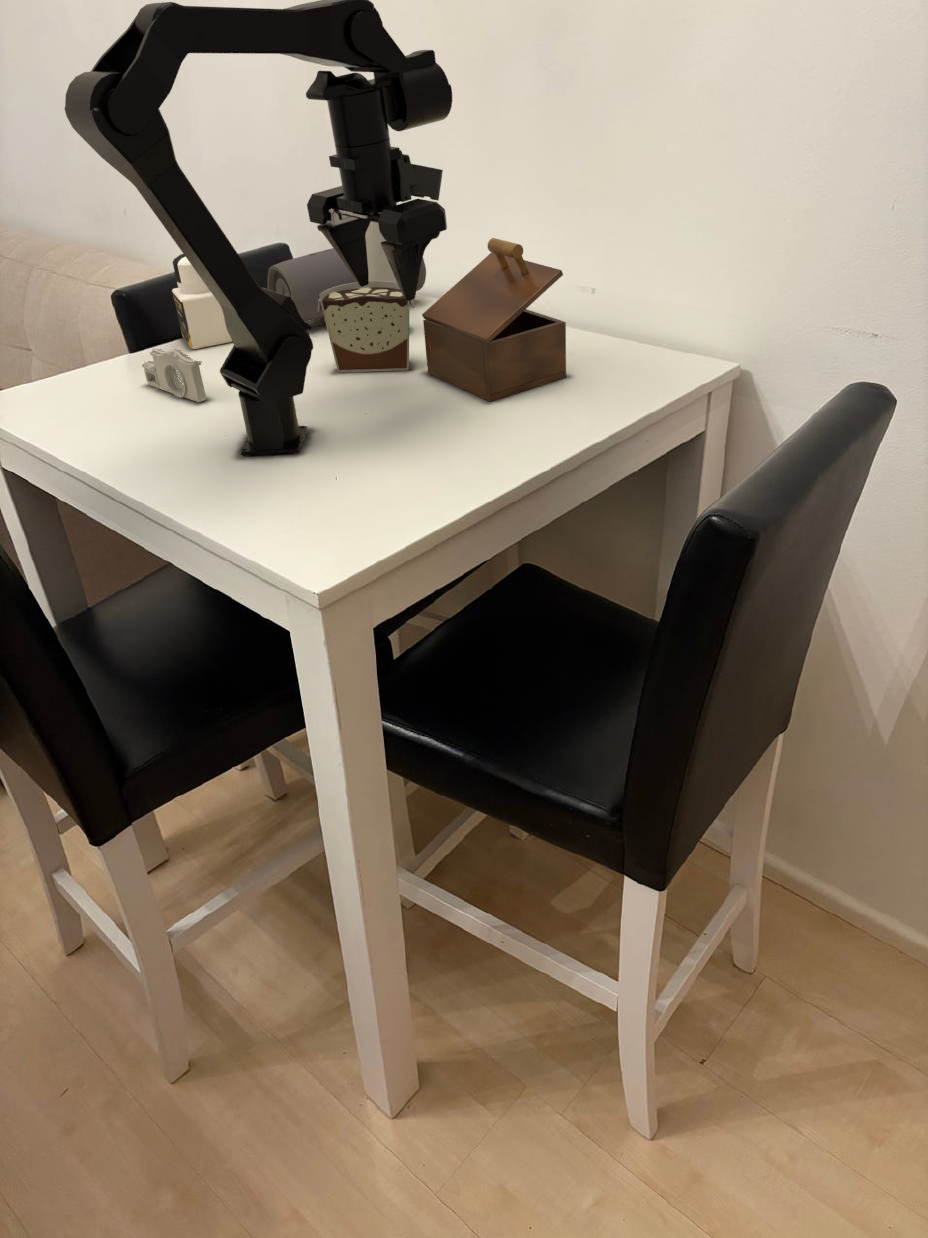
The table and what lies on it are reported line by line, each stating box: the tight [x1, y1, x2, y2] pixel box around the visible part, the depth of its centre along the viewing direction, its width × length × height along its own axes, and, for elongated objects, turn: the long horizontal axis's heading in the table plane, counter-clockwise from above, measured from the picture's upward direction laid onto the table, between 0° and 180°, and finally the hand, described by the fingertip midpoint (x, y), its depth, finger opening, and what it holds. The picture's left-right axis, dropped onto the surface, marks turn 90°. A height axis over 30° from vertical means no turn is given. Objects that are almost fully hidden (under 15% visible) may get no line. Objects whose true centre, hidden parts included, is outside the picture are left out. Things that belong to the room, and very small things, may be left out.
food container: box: [318, 281, 415, 373], centre depth 125 cm, size 12×6×10 cm, turn 84°
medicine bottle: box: [171, 253, 233, 350], centre depth 139 cm, size 7×7×12 cm
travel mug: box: [365, 212, 397, 282], centre depth 133 cm, size 6×7×20 cm
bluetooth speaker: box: [267, 247, 427, 324], centre depth 145 cm, size 23×9×10 cm, turn 126°
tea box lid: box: [421, 237, 564, 343], centre depth 114 cm, size 12×14×4 cm
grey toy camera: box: [141, 347, 207, 403], centre depth 122 cm, size 12×2×6 cm, turn 48°
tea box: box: [422, 308, 567, 402], centre depth 119 cm, size 12×14×7 cm
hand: (386, 292), depth 109 cm, fingers open, 9 cm apart
